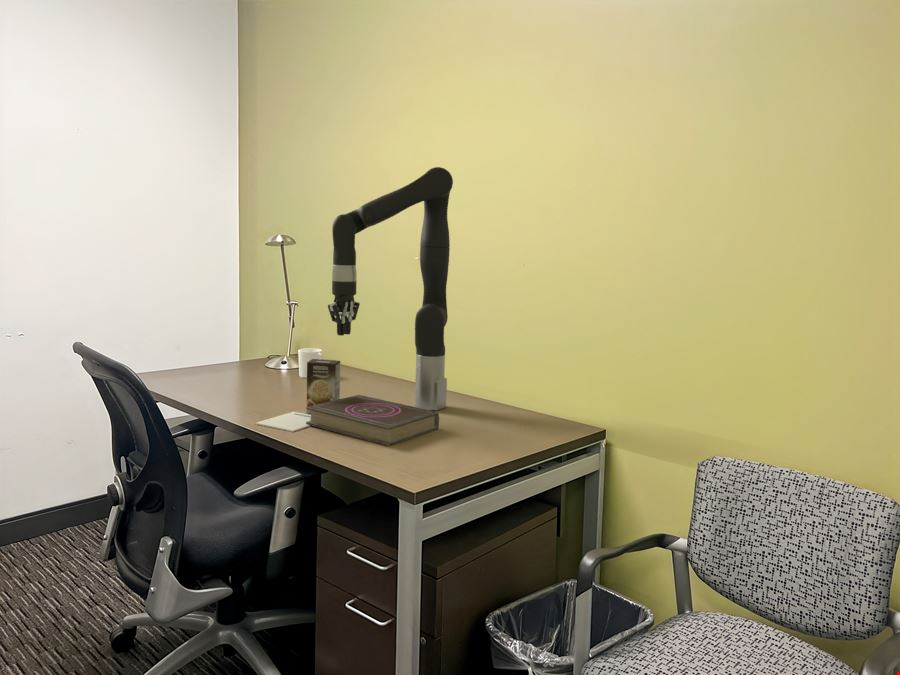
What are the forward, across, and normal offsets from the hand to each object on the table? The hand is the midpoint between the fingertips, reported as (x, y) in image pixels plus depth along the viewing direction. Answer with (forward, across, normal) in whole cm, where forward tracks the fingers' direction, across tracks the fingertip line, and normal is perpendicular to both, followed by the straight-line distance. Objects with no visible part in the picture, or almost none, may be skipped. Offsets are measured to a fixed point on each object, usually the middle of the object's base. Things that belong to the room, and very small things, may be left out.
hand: (343, 334), depth 217 cm
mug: (+23, +30, +38) cm, 54 cm away
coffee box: (+23, -10, 0) cm, 25 cm away
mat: (+23, -24, 0) cm, 33 cm away
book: (+23, -15, -22) cm, 35 cm away
